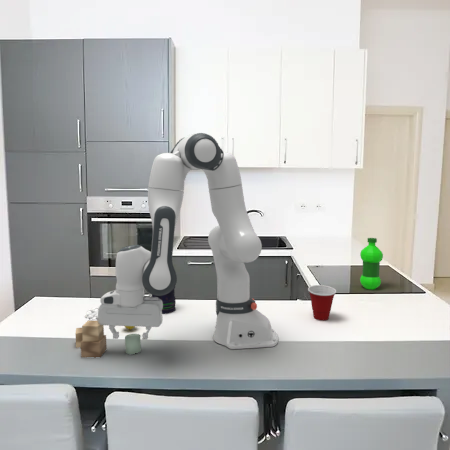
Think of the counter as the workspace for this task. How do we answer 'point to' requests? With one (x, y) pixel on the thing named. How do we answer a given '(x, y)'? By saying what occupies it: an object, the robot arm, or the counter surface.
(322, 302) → the plastic cup
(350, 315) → the counter surface
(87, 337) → the tower block top
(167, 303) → the storage jar
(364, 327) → the counter surface
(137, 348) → the sage green cylinder
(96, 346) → the tower block base
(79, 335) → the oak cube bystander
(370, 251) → the plastic bottle
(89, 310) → the tangled rod sculpture
